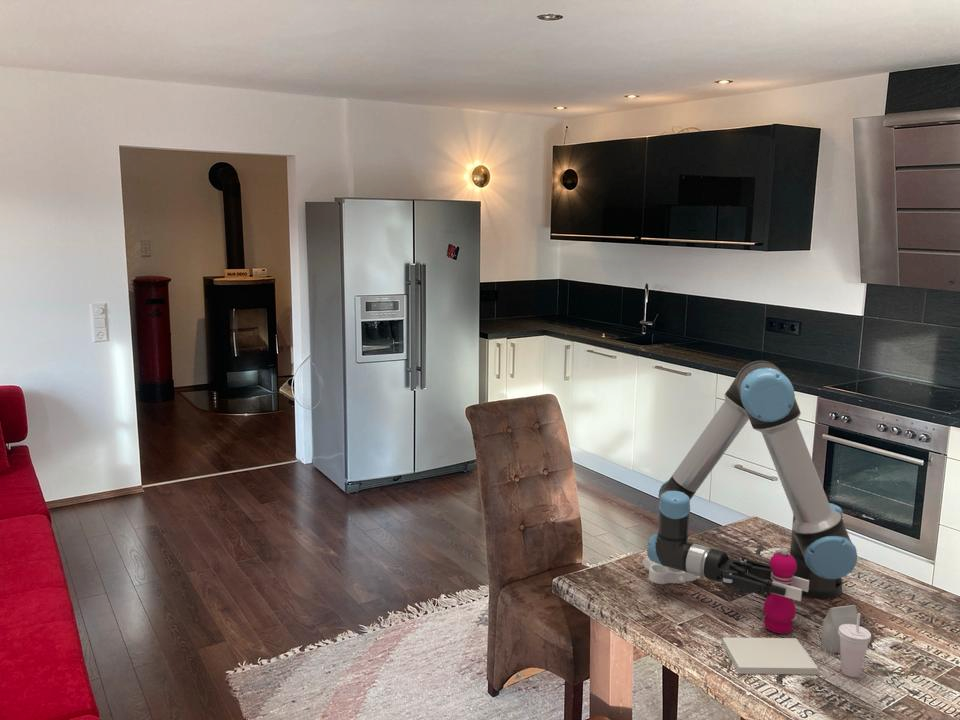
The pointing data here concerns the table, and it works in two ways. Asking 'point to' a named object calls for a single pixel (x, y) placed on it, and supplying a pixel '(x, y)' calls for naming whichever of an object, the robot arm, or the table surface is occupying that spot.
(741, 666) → the cutting board
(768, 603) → the pepper mill
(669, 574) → the knuckle duster
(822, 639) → the tea bag
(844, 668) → the smoothie
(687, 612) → the table surface
